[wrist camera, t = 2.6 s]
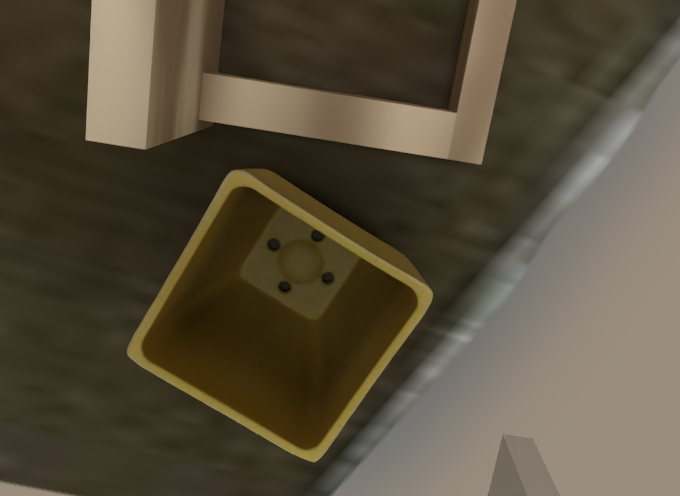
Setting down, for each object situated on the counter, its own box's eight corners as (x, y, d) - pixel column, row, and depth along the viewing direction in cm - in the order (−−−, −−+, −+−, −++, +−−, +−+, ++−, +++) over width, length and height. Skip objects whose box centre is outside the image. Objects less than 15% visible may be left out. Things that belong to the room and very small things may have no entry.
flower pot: (182, 282, 33) (119, 357, 24) (268, 139, 31) (232, 164, 22) (326, 367, 34) (314, 468, 25) (418, 234, 32) (440, 294, 23)
